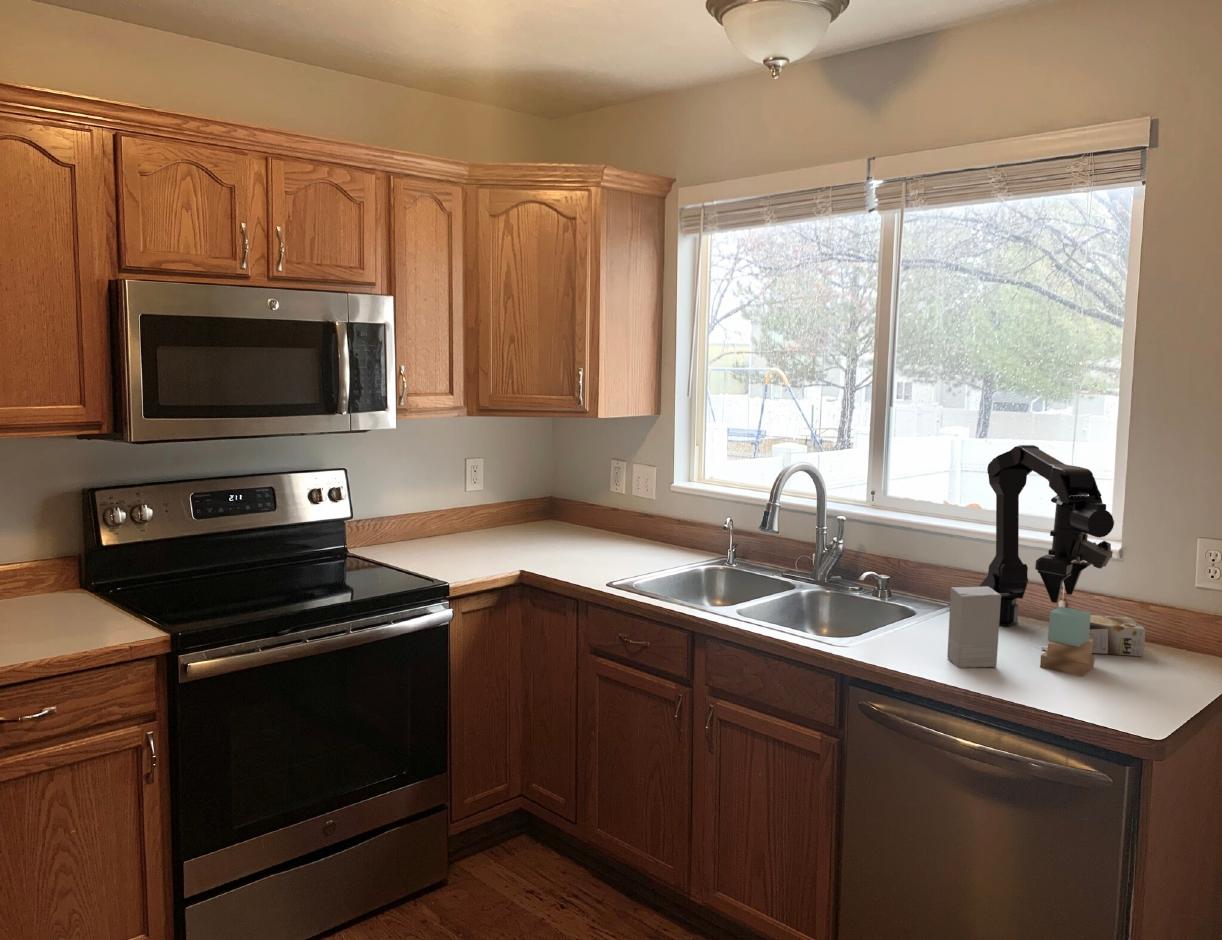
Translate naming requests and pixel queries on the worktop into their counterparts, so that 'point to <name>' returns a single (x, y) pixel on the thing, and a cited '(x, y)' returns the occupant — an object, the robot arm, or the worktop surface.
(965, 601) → the skincare box
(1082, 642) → the teal cube
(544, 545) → the worktop surface
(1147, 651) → the worktop surface
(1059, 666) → the tower base
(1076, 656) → the tower top
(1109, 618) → the coffee box
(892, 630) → the worktop surface
